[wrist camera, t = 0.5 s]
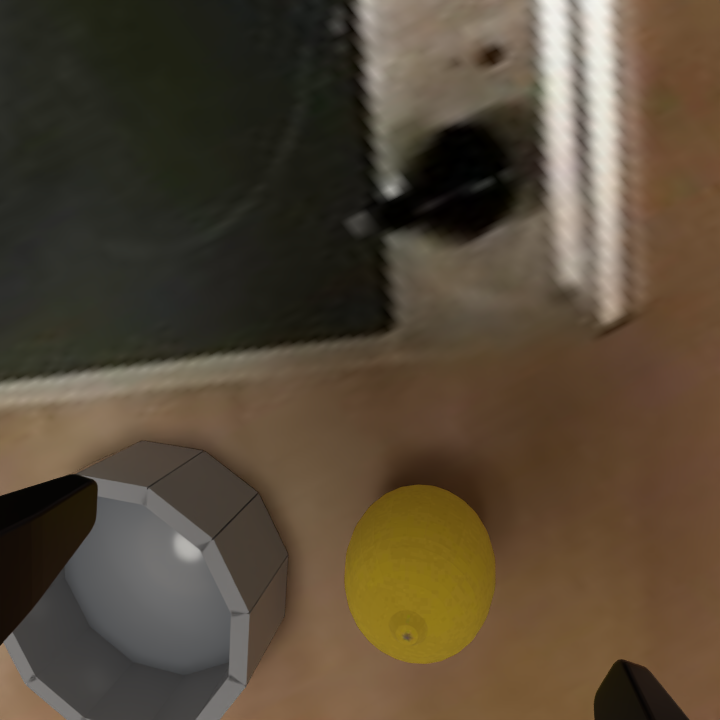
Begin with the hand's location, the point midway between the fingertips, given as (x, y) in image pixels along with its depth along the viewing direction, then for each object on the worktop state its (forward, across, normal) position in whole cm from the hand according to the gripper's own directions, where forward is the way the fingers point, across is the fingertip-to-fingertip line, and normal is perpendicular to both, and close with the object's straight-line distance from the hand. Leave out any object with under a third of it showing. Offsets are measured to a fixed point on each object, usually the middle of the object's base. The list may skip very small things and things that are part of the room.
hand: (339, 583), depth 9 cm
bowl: (+13, +9, +15) cm, 21 cm away
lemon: (+13, -3, +8) cm, 16 cm away
